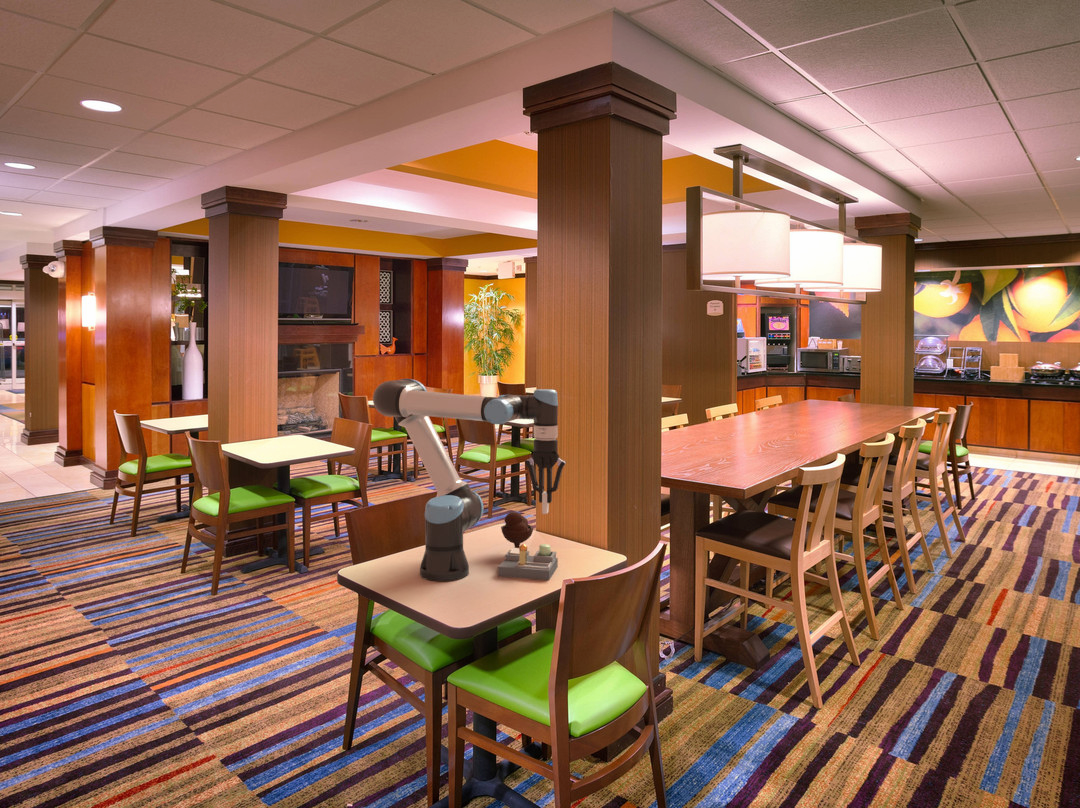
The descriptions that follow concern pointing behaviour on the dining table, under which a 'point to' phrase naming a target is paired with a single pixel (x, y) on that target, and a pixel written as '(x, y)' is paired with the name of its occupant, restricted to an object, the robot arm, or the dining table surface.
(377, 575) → the dining table surface
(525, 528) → the ice cream bowl
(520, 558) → the brass lever
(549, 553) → the green button
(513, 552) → the rocker
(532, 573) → the console
